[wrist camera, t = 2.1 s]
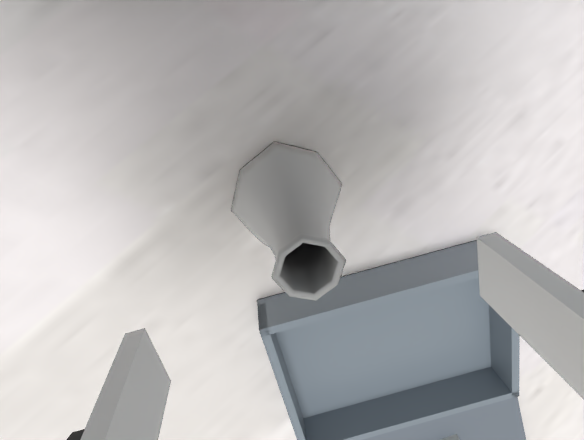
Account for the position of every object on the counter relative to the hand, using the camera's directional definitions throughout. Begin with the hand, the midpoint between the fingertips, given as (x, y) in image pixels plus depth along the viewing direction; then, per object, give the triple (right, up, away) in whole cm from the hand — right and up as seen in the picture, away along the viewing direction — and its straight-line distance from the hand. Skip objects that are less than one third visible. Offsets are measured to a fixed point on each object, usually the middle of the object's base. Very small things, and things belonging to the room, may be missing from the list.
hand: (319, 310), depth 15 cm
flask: (-1, +5, +12) cm, 13 cm away
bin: (+7, -6, +17) cm, 19 cm away
